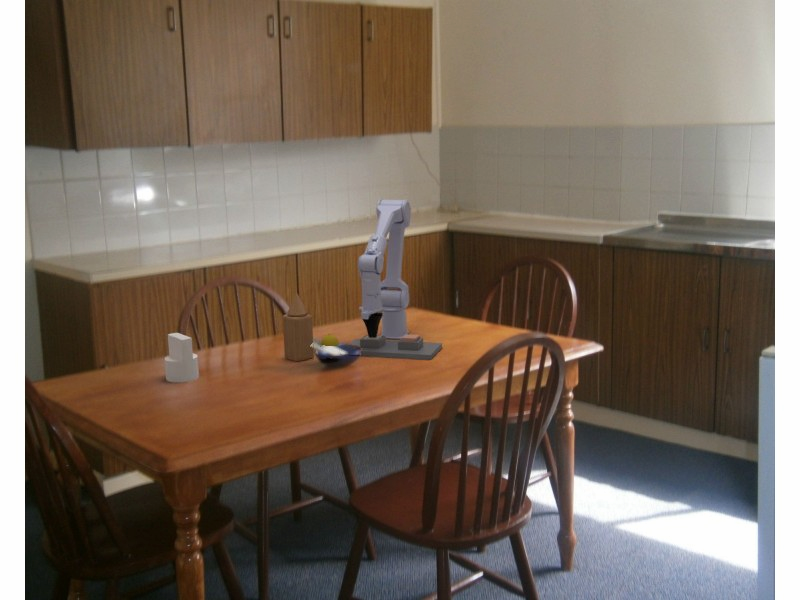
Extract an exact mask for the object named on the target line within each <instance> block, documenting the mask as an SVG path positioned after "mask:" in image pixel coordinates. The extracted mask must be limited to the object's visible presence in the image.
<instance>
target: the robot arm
mask: <svg viewBox="0 0 800 600" xmlns="http://www.w3.org/2000/svg"><path fill="white" fill-rule="evenodd" d="M375 210H376V211H375V212H376V216H377V224H376V227H375V228H376V229H375V232H374V234H373V235H371V236H370V237H369V240H368V241H367V242H368V243H367V245H366V247H365V251H364V253H363V254H361V255H360V256H359V258H358V261H357V269H358V273H359V278H360V279H361V295H362V297H361V299H362V304H361V306H359V307H358V310H359V311H361V313H360V315H361V316H360V318H361V320H362V321H363V323H364V325H365V328H366V332H367V335H368V336H369V337H370V338H376V337H377V335H378V333H379V332H378V331H379V325H380V322H381V334H380V335H384V336H386V339H389V340H390V339H391V340H392V339H393V340H400V339H401V338H402V337H403V336H404V335H405V334H410V332H411V331H410V330H407V327H408V326H407V313H406V309H407V308H408V306H409V304H410V293H409V290H410V288H409V285H408V284H407V283H406V282H405V281H403V279H402V270H403V269H402V268H403V267H402V266H403V265H402V264H403V253H404V241H405V231H406V228H408V227H409V226H410V223H411V214H412V212H411V210H412V209H411V204H410V201H409V200H408V199H382V198H380V199H378V200H377V203H376V208H375ZM387 237H388V239H387ZM386 249H387V256H386V257H387V258H386V271H385V272H386V273H385V278H384V279H383V280H382V281H381V273H382V272H383V270H384V262H385V261H384V260H385V258H384V255H385V253H386Z"/></svg>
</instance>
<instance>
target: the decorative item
mask: <svg viewBox="0 0 800 600" xmlns="http://www.w3.org/2000/svg"><path fill="white" fill-rule="evenodd" d="M308 312H309V311H308V310H307V309H306V306H305V305H304V303H303V301H302V300H301V298H300V297H299V294H298V292H296V293H295V295H294V296H293V299H292V301H291V304H290V306H289V309H288V310H287V313H286V314H284V315H282V330H283V331H282V333H283V349H284V350H283V351H284V353H283V354H284V358H285V359H288V360H290V361H294V362H301V361H305V360H309V359H313V358H314V355H315V354H314V353H315V352H314V347H313V348H312V347H310V345H311V344H312V343H313V344H314V333H313V332H314V330H313V316H312V315H311V314H308Z"/></svg>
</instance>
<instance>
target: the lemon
mask: <svg viewBox="0 0 800 600" xmlns="http://www.w3.org/2000/svg"><path fill="white" fill-rule="evenodd" d="M321 345H325V346H338V345H339V346H340V341H339V339H338V338H337V337H336V335H333V334H331V333H328V334H326V335H325V336H323V337H322V339H321V342H320V346H321Z"/></svg>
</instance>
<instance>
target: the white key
mask: <svg viewBox="0 0 800 600" xmlns="http://www.w3.org/2000/svg"><path fill="white" fill-rule="evenodd" d="M381 337H382V336H379V334H377V337H376V338H370V337H369V336H366V337H365V338H364V339H369V340H379V339H380V338H381Z"/></svg>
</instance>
